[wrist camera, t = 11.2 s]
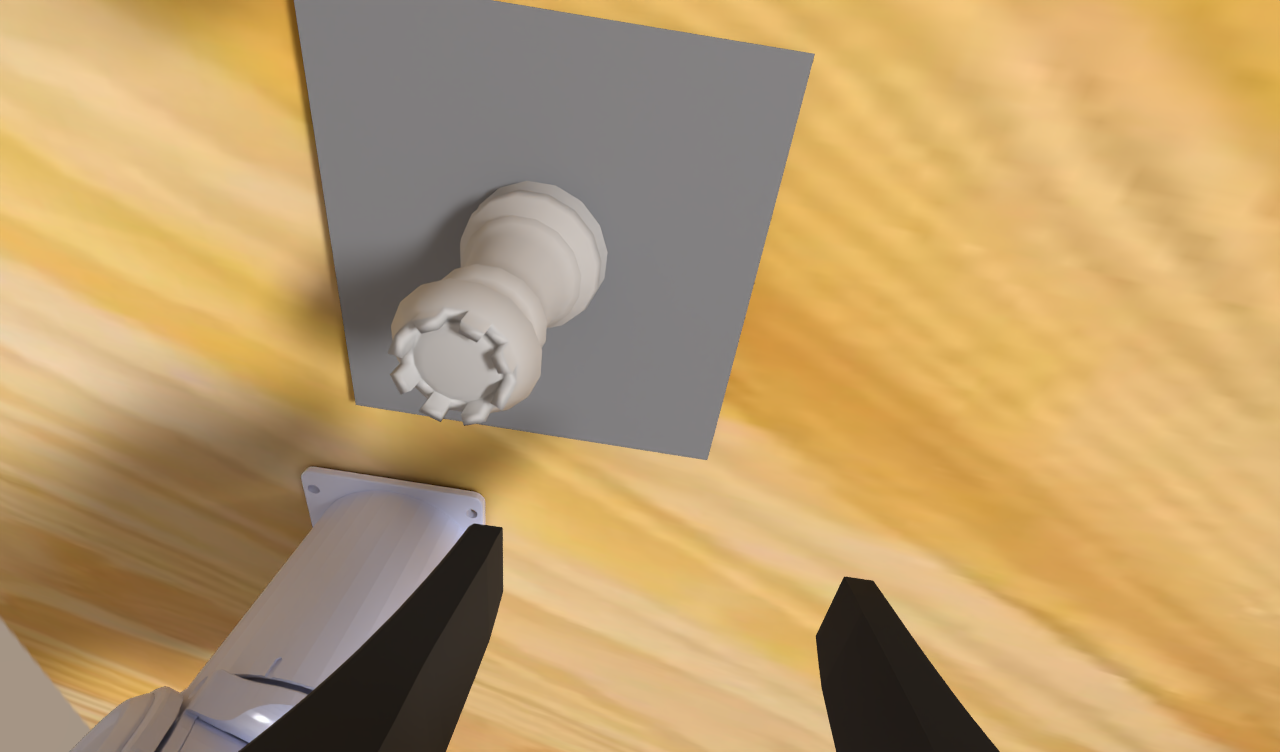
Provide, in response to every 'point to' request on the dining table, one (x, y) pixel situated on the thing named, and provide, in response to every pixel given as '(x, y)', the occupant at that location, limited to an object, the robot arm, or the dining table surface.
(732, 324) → the rubber mat
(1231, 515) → the dining table surface
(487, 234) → the rook chess piece
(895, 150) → the dining table surface
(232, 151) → the dining table surface
